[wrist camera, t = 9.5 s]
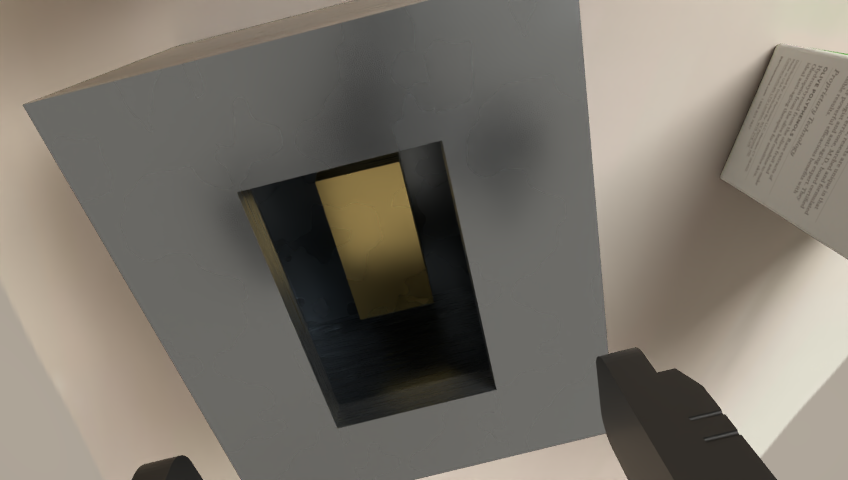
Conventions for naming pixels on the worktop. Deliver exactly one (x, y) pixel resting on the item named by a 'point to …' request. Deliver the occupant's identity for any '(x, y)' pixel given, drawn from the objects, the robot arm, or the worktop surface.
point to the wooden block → (376, 234)
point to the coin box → (314, 244)
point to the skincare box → (798, 143)
